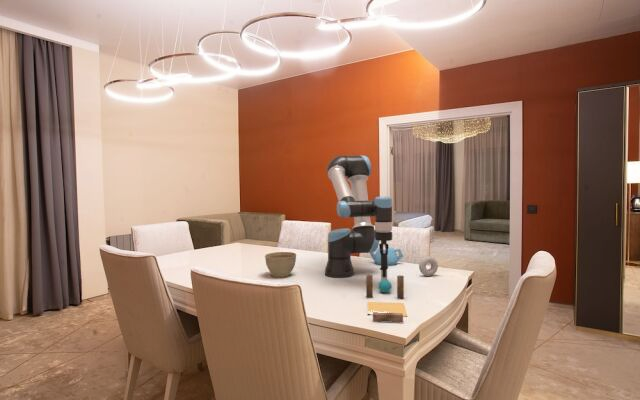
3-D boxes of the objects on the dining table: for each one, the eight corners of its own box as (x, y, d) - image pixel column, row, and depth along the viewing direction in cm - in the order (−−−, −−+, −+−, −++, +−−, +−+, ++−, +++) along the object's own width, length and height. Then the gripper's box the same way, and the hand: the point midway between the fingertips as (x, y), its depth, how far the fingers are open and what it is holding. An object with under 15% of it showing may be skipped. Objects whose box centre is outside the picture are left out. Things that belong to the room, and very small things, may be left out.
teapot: (384, 267, 204) (384, 248, 203) (367, 263, 217) (367, 245, 216) (404, 264, 212) (404, 245, 212) (386, 259, 225) (386, 242, 224)
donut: (435, 274, 187) (435, 255, 187) (439, 276, 184) (439, 256, 184) (417, 275, 185) (417, 256, 185) (421, 277, 182) (421, 257, 181)
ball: (377, 278, 161) (378, 291, 161) (378, 280, 156) (378, 293, 155) (390, 278, 161) (390, 291, 160) (391, 281, 155) (392, 294, 155)
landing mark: (367, 315, 131) (367, 314, 131) (367, 302, 145) (367, 301, 145) (407, 316, 130) (407, 315, 130) (403, 303, 143) (403, 303, 143)
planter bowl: (276, 270, 201) (276, 250, 200) (302, 273, 194) (301, 253, 193) (258, 277, 187) (258, 256, 186) (285, 281, 179) (285, 258, 179)
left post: (366, 297, 151) (366, 276, 151) (366, 295, 154) (366, 274, 153) (372, 298, 151) (372, 276, 150) (372, 296, 153) (372, 274, 153)
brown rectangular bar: (373, 321, 125) (373, 314, 125) (373, 319, 127) (372, 312, 127) (402, 322, 124) (402, 315, 124) (402, 320, 126) (402, 313, 126)
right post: (397, 298, 149) (397, 276, 149) (397, 296, 152) (396, 275, 151) (404, 298, 149) (403, 277, 149) (403, 297, 152) (403, 275, 151)
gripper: (393, 233, 156) (393, 287, 157) (391, 229, 169) (391, 280, 170) (375, 233, 157) (375, 287, 158) (374, 229, 170) (375, 279, 171)
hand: (384, 283), depth 164 cm, fingers closed
